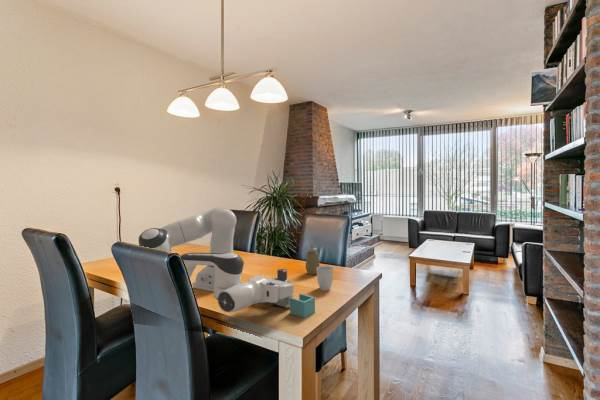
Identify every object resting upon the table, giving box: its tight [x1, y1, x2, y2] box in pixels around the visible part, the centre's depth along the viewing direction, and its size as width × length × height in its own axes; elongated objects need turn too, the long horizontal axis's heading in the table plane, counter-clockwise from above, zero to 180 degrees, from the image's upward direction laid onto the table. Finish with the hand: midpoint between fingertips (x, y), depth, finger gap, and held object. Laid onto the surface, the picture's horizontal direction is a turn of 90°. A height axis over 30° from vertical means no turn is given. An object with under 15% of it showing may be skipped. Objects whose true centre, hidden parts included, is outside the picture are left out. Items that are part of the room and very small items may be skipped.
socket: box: [289, 293, 316, 319], centre depth 118 cm, size 7×7×6 cm
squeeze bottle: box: [305, 241, 321, 276], centre depth 171 cm, size 8×8×18 cm
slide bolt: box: [274, 268, 294, 309], centre depth 128 cm, size 17×4×14 cm, turn 51°
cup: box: [316, 265, 334, 291], centre depth 146 cm, size 8×8×10 cm
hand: (283, 280), depth 125 cm, fingers closed on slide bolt, 4 cm apart
